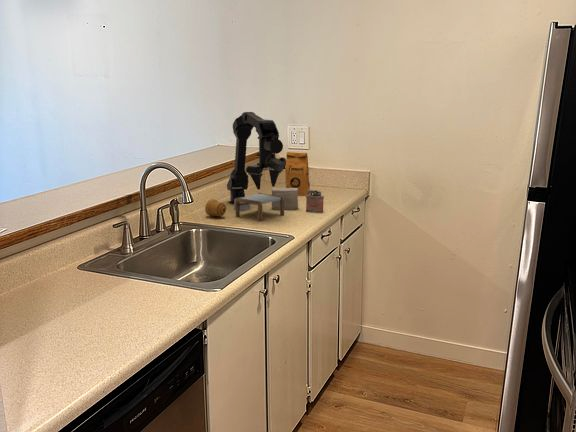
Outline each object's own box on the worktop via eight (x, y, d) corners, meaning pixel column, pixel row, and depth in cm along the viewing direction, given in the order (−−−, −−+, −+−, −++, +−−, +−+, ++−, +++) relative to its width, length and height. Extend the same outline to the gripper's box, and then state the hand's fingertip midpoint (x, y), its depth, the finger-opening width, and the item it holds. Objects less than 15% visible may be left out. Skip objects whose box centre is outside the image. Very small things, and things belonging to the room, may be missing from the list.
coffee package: (306, 198, 282) (306, 154, 277) (282, 196, 286) (282, 152, 281) (312, 194, 291) (312, 151, 286) (289, 193, 295) (289, 150, 290)
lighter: (324, 212, 253) (324, 190, 251) (322, 213, 250) (322, 191, 248) (307, 210, 256) (307, 188, 254) (304, 212, 253) (305, 190, 250)
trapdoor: (261, 204, 236) (261, 201, 235) (240, 200, 243) (240, 197, 243) (280, 199, 244) (280, 197, 244) (259, 195, 252) (259, 193, 252)
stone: (234, 209, 257) (234, 198, 256) (242, 207, 261) (242, 197, 260) (242, 211, 254) (242, 200, 253) (250, 209, 258) (250, 198, 257)
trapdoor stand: (260, 221, 236) (260, 202, 234) (235, 216, 244) (235, 198, 243) (284, 215, 247) (284, 197, 245) (259, 210, 256) (259, 192, 254)
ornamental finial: (204, 217, 242) (203, 200, 240) (216, 214, 248) (216, 197, 246) (218, 220, 237) (217, 202, 236) (230, 217, 243) (230, 200, 241)
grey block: (298, 205, 261) (297, 187, 256) (298, 209, 258) (297, 191, 253) (271, 205, 261) (271, 187, 256) (271, 209, 258) (270, 191, 253)
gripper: (265, 154, 225) (265, 193, 228) (295, 150, 239) (294, 187, 242) (244, 152, 232) (245, 190, 235) (275, 148, 246) (275, 184, 249)
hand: (266, 188), depth 240 cm, fingers open, 9 cm apart
